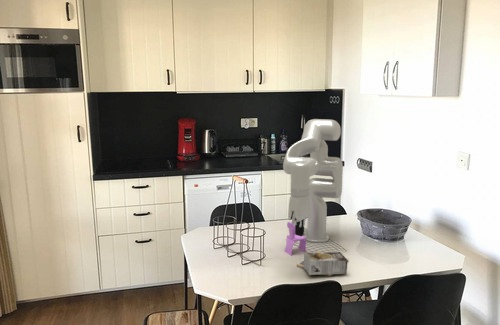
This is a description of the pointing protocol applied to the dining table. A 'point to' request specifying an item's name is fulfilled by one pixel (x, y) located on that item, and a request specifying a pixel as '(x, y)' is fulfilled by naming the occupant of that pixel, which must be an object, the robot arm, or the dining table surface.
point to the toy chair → (294, 240)
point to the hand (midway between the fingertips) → (299, 234)
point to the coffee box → (325, 263)
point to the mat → (304, 268)
